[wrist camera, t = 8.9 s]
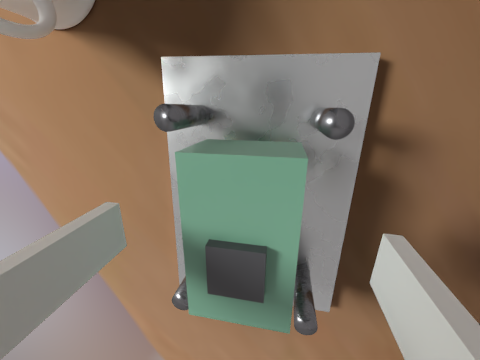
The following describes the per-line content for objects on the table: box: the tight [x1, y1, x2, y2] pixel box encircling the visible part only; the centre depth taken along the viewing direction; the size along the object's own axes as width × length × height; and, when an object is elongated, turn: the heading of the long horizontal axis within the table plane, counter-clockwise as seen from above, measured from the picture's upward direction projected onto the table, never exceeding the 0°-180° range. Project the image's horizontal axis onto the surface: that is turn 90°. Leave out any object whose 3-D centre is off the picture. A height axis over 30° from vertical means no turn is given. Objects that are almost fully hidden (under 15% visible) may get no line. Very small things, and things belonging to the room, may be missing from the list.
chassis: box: [154, 53, 381, 335], centre depth 15 cm, size 20×14×6 cm
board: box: [175, 139, 308, 334], centre depth 13 cm, size 10×6×5 cm, turn 0°
